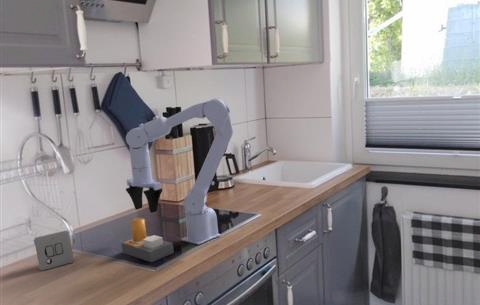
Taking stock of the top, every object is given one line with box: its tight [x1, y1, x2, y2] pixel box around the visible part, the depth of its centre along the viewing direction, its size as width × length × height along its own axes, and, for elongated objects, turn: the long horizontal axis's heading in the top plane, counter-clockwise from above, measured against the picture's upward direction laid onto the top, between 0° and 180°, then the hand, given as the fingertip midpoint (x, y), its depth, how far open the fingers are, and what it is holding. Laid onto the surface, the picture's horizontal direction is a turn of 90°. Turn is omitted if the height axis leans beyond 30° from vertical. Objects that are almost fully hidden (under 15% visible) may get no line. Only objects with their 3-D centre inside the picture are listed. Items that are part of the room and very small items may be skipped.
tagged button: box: [129, 239, 143, 245], centre depth 135 cm, size 4×4×3 cm
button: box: [143, 235, 164, 249], centre depth 130 cm, size 4×4×3 cm
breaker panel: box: [121, 235, 175, 263], centre depth 133 cm, size 8×14×3 cm, turn 48°
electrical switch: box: [33, 230, 75, 271], centre depth 130 cm, size 9×5×9 cm, turn 124°
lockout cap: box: [130, 217, 148, 242], centre depth 134 cm, size 4×4×6 cm
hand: (146, 210), depth 141 cm, fingers open, 7 cm apart
